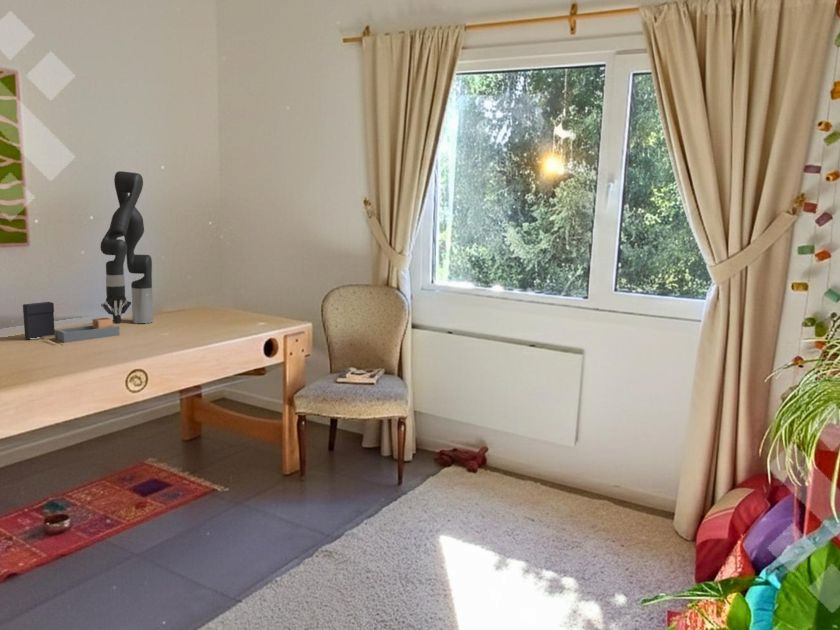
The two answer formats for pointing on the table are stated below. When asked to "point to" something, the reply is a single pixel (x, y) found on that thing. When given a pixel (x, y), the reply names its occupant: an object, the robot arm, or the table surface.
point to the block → (102, 323)
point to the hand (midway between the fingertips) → (117, 323)
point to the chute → (85, 333)
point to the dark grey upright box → (38, 319)
